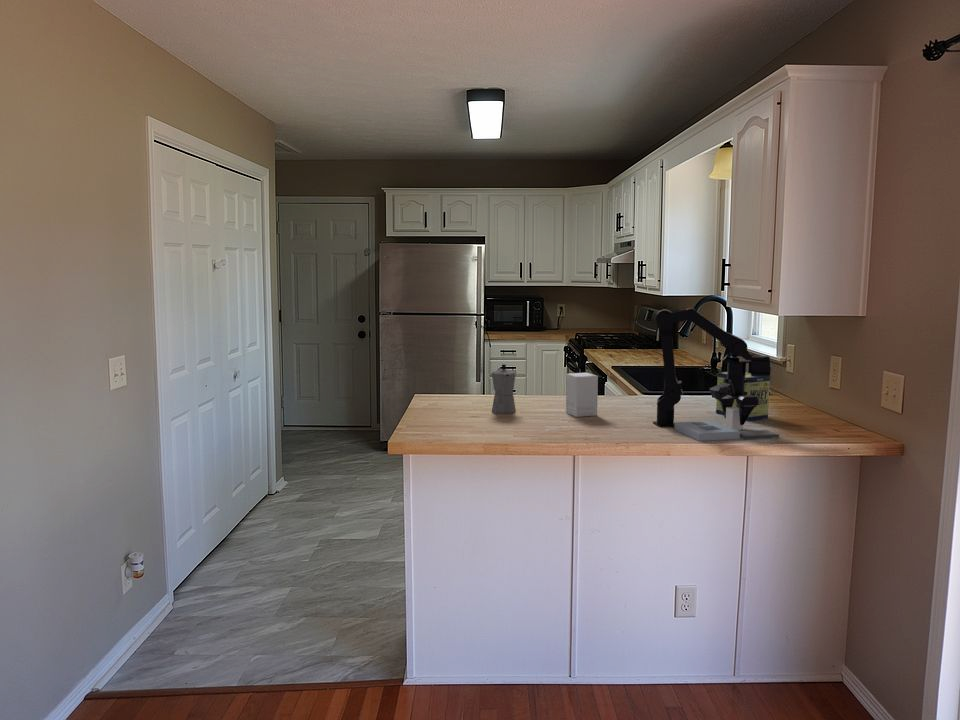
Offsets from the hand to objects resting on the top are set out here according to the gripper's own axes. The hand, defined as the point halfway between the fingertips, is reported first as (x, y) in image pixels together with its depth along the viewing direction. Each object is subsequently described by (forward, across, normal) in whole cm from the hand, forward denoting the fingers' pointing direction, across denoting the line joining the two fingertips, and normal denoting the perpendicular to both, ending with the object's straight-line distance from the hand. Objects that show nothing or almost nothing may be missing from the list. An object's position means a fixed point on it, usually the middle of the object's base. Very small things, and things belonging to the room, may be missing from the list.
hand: (734, 421), depth 231 cm
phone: (+2, +11, +1) cm, 11 cm away
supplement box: (+2, -33, -42) cm, 53 cm away
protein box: (+3, -18, +14) cm, 23 cm away
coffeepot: (+2, -45, -69) cm, 82 cm away
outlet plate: (+2, +5, -13) cm, 14 cm away
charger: (+2, 0, 0) cm, 2 cm away
